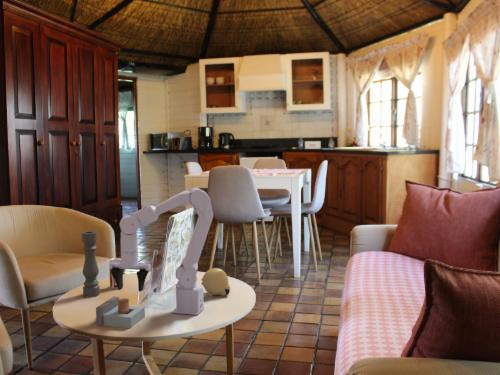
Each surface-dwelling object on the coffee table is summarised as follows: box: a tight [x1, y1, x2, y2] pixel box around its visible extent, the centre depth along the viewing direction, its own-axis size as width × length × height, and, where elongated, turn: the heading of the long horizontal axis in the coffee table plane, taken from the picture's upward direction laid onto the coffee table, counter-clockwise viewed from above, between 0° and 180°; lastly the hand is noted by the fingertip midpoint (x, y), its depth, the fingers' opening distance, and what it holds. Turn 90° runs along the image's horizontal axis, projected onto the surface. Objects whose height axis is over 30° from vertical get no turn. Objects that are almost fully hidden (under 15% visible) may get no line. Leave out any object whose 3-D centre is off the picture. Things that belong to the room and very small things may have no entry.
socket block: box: [103, 305, 146, 329], centre depth 165 cm, size 10×10×4 cm
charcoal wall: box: [95, 296, 120, 327], centre depth 167 cm, size 2×12×6 cm, turn 167°
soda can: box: [109, 257, 121, 290], centre depth 203 cm, size 5×5×12 cm
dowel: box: [118, 297, 130, 314], centre depth 165 cm, size 4×4×7 cm
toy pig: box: [200, 267, 231, 297], centre depth 194 cm, size 10×12×11 cm
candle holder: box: [81, 230, 101, 298], centre depth 193 cm, size 6×6×25 cm
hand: (130, 289), depth 170 cm, fingers open, 7 cm apart
